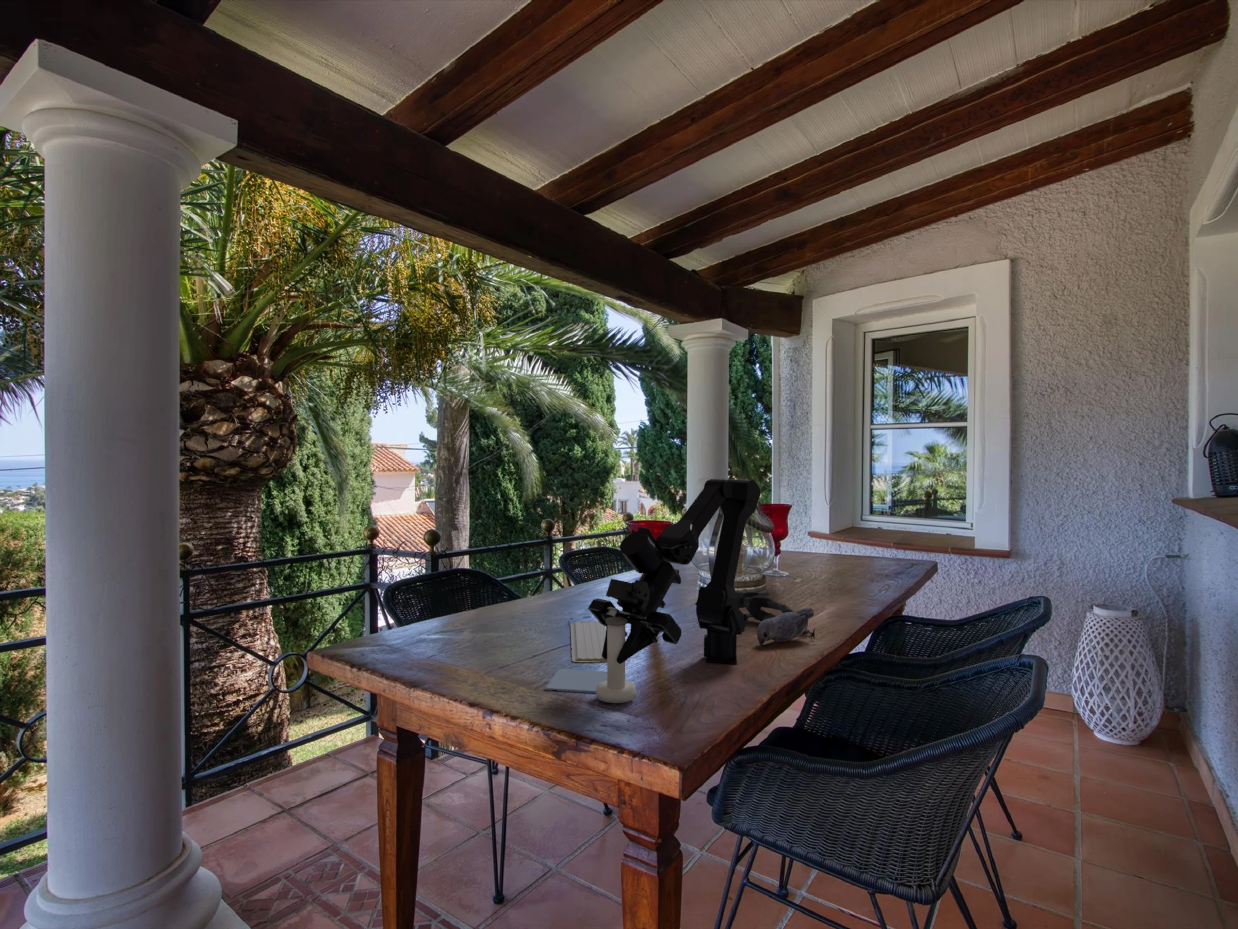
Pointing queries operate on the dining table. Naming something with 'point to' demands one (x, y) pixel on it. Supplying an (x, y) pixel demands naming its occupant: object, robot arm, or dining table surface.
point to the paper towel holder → (615, 666)
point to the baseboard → (587, 641)
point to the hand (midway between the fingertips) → (610, 660)
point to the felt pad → (576, 680)
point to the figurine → (759, 605)
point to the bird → (785, 626)
